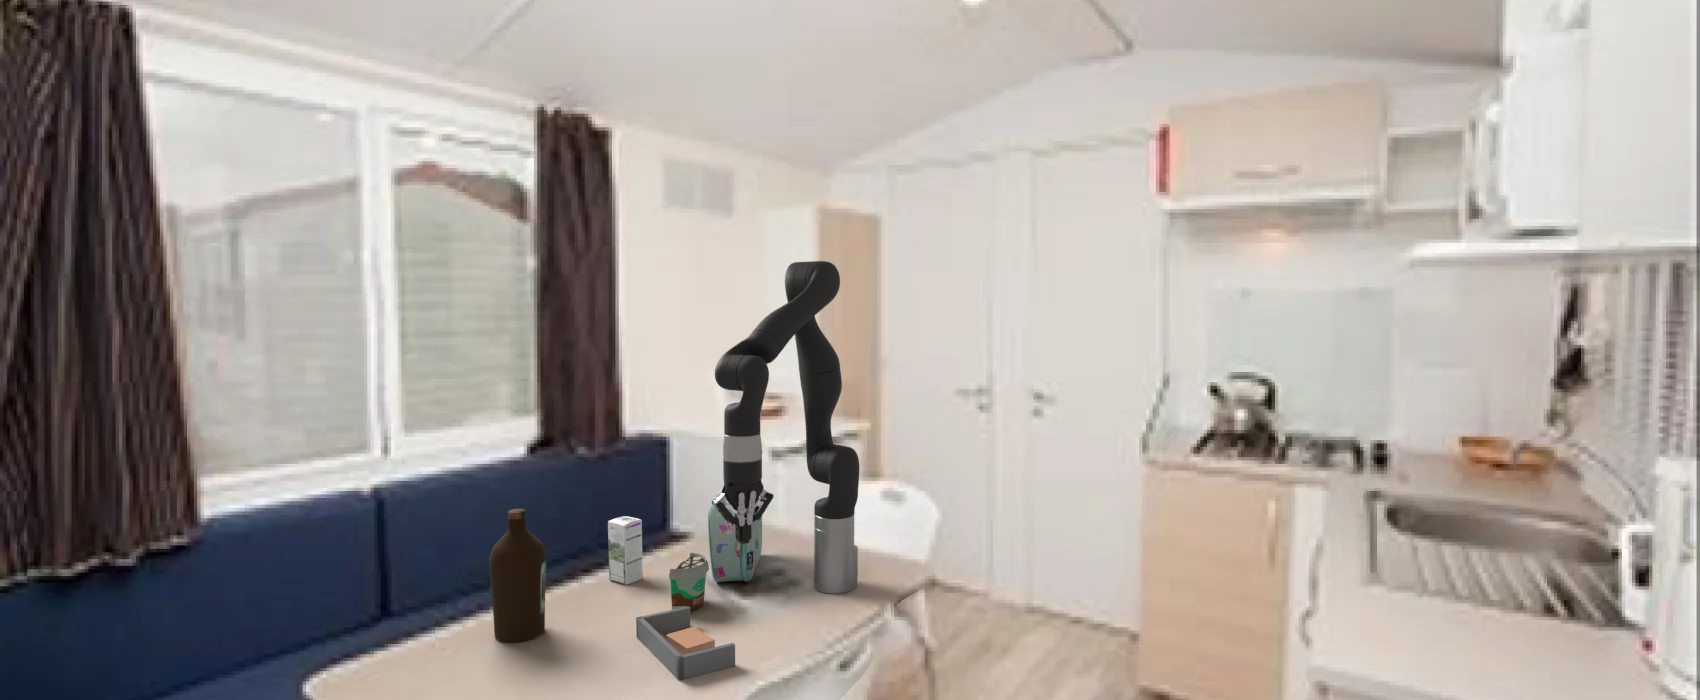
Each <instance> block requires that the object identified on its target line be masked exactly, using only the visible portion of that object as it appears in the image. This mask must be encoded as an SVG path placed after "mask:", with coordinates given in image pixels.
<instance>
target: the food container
mask: <svg viewBox="0 0 1700 700" xmlns="http://www.w3.org/2000/svg"><path fill="white" fill-rule="evenodd" d="M709 571H710V566H709V561H708V560H707V557H706V556H705V555H703V554H701V553H696V552H689V557H688V558H687V559H686V560H683V561H682V562H680V563H679V565H678V566H677V567H676V568H670V569H669V575H668V580H669V581H670V594H671V595H670V596H671V598H670V599H671V610H674V609H678V608H683V607H688V606H689V607H690V613H694V612H697V611H699V610H701V609H702V608H703V607H704V605H705V590H706V580H707V579H706V576H707V573H708V572H709ZM693 611H694V612H693Z"/></svg>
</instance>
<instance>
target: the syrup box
mask: <svg viewBox="0 0 1700 700" xmlns="http://www.w3.org/2000/svg"><path fill="white" fill-rule="evenodd" d="M642 523H643V521H642V519H640V518H637V517H633V516H632V517H631V516H627V515H623V516H618V517H616V518H613V519H610V520H607V533H608V534H607V535H608V536H607V537H608V539H607V541H608V570H609V571H608V572H609V573H608V576H609V578H608V579H609V581H611V582H615V583H619V584H622V585H625V586H626V585H629V584H633V583H635V582H637V581H640V580H642V579H644V578H643V577H644V572H643V570H644V569H643V528H642V527H643V525H642Z"/></svg>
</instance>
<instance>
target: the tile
mask: <svg viewBox="0 0 1700 700" xmlns="http://www.w3.org/2000/svg"><path fill="white" fill-rule="evenodd" d="M665 640H666V641H667V642H668V643H670V644H671V645H672V646H673V647H674V648H675V649H676V650H677V651H678V652H679V653H680V654H681V655H685V654H689V653H693V652H697V651H701V650H705V649H709V648H713V647H716V640H715V639H714V638H713V637H711V636H709V635H708V634H706V633H704V632H703V631H701V630H699V629H698V628H696V627H694V626H691V627H688V628H684V629H679V630H676V631H673V632H671V633H670V632H669V633H668V634H667V633H666V634H665Z"/></svg>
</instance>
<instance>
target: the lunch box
mask: <svg viewBox="0 0 1700 700" xmlns="http://www.w3.org/2000/svg"><path fill="white" fill-rule="evenodd" d="M722 489H723V487H721V489H720V490H718V492H717V494H716V495H715V496H714V497H713V499H717V498H718V497H719V496H720V495H721V494H722ZM758 500H759V498H758ZM758 500H757V501H756V503H757V502H758ZM726 503H727V506H726V508H727V509H728V510H729V512H730V513H731V514H732V515H733V512H732V506H731V505H730V504H729V502H728V501H727V500H726ZM756 503H755V505H756ZM707 512H708V515H707V516H708V517H707V523H708V524H707V527H708V529H707V530H708V541H709V542H708V545H709V547H708V548H709V556H710V571H711V575H712V578H713V579H714V582H716V583H718V582H719V583H720V582H725V583H726V582H737V581H738V582H749V581H751V580H752V578H753V576H754V572H755V570H756V568H757V567H758V563H759V560H760V558H761V555H762V549H763V515H762V516H761V518H760V519H759V520H756V521H754V522H753V523H752V525H751V540H749V543H746V544H740V543H739V542H738V541H737V540H736V538H735V524H734V525H733V524H731V523H730V522H727V521H726V520H725V519H724V518H723V516H722V515H721V514H720V513H719V512H718V510H717V509H716V508H715V507H714V506H713V504H712V501H711V502H710V504H709V508H708V511H707ZM713 579H712V580H713ZM743 580H744V581H743Z"/></svg>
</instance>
